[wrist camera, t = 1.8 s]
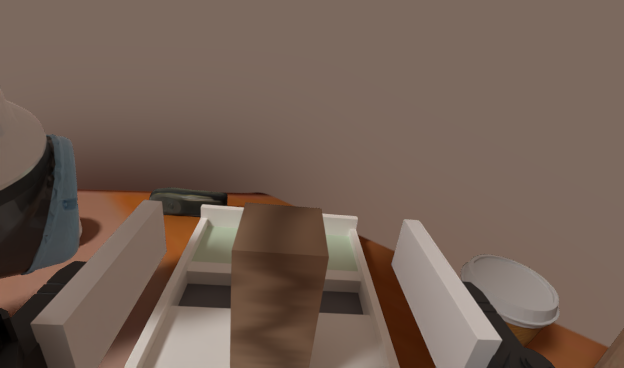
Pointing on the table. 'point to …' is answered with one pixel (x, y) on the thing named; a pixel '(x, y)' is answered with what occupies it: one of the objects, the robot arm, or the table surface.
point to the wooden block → (613, 354)
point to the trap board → (217, 303)
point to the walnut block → (276, 285)
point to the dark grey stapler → (186, 200)
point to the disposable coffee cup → (514, 293)
